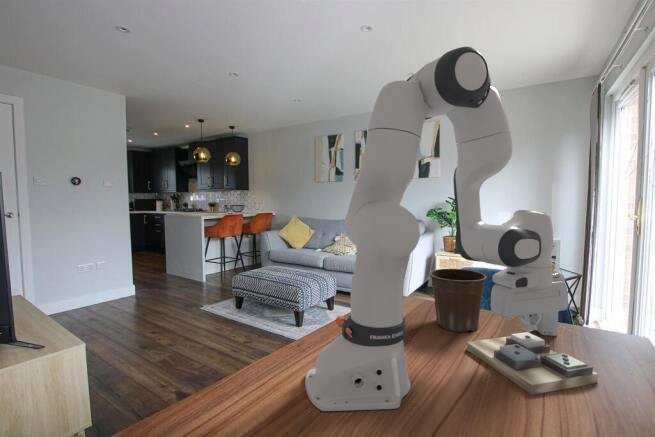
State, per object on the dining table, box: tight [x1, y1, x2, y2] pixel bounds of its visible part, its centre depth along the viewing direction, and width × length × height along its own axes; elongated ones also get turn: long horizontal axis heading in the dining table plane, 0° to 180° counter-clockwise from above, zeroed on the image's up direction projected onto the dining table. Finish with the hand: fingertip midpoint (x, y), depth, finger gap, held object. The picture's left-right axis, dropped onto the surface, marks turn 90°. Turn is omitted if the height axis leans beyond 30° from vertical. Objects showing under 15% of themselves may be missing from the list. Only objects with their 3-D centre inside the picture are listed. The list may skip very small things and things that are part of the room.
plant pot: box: [429, 268, 487, 333], centre depth 100 cm, size 16×16×16 cm
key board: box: [466, 335, 599, 396], centre depth 76 cm, size 17×20×4 cm
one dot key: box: [510, 331, 546, 348], centre depth 80 cm, size 5×5×2 cm
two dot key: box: [500, 344, 535, 363], centre depth 74 cm, size 5×5×2 cm
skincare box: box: [536, 311, 559, 337], centre depth 94 cm, size 6×4×12 cm
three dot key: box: [546, 352, 587, 370], centre depth 71 cm, size 5×5×2 cm
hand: (529, 330), depth 80 cm, fingers closed
